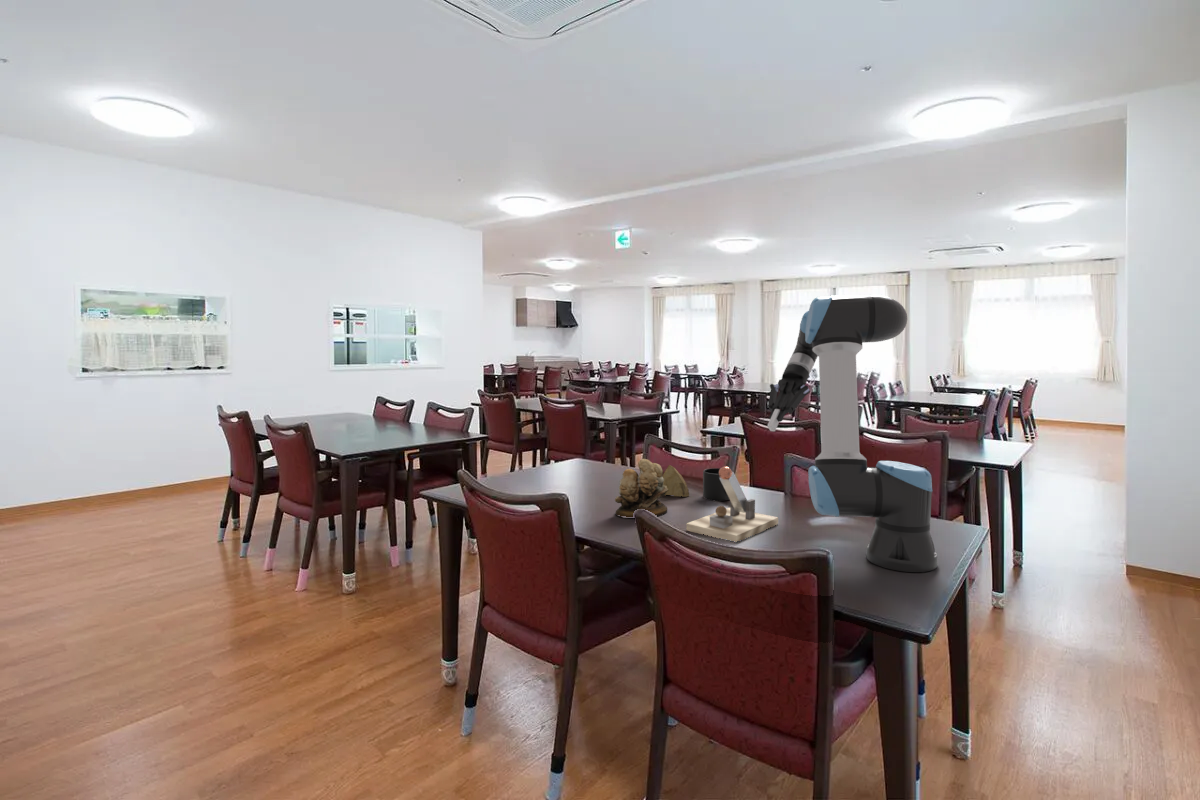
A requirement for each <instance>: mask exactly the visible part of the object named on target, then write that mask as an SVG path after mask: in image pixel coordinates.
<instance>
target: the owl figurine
mask: <svg viewBox="0 0 1200 800" xmlns="http://www.w3.org/2000/svg"><path fill="white" fill-rule="evenodd" d="M637 466H638V469H639V473H638V472H637V471H636V470H635V469H632V468H626V469H625V470H624V471H623V473H622V478H621V479H620V480H619V486H618V493H619V495H620V496H619V495H618V496H615V498H614V501H615V502H616V503H618V504H621V506H618V508H617V510H615V515H616V514H617V515H620V516H626V517H633V513H634V511H635V510H637V509H645V510H648V511H650V512H652V513H654V514H655V515H657V517H660V515H661V516H662V514H663V515H665V514H667V512H668V507H667V506H666V505H665V503H663V502H661V501H660V500H659V498H661V497H663V496H664V497H665V496H666V495H665V494H666V492H667V491H668V488H667V486H663V482H664V479H663V477H662V476H663V474H664V471H663V468H662V466H661V464H658V463H656V462H652V461H651V460H650V459H646V458H641V459H640V460H639V461H638V462H637ZM617 515H616V516H617Z"/></svg>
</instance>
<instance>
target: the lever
mask: <svg viewBox="0 0 1200 800" xmlns="http://www.w3.org/2000/svg"><path fill="white" fill-rule="evenodd" d="M719 468H720V470H719V476H720V478H719V479H720V481H721V483H722V485H723V487H724V489H725V491H726V493H727V495H728V497H729V502H730V501H731V503H732V505H733V507H734V509H735V511H737V512H742V513H745V512H746V501H747V500H748V499H747V497H746V495H745V493H744V491H743V489H742V487H741V484H740V482H739V480H738V478H737V477H736V475H735V472H734V471H732V469H731V468H730V467H729V466H727V465H726V466H722V467H719Z"/></svg>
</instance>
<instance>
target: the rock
mask: <svg viewBox="0 0 1200 800" xmlns="http://www.w3.org/2000/svg"><path fill="white" fill-rule="evenodd" d="M662 477H663V479H664V482H663V486H667V488H668V491H667V492H666V494H665V495H664V496H666V495H674V496H673V497H681V496H682V497H686V498H687V497H689V496H690V492H689V491H690V489H689V487H688V486H687V485H688V484H687V482H686V481H685V479H684V477H683V476H682V474H680V472H679V471H678V470H677V469H676V467H674V466H673V465H671V464H669V465H668V466H667V468H666V469H665V471H663V475H662ZM682 497H681V498H682Z"/></svg>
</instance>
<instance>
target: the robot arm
mask: <svg viewBox="0 0 1200 800" xmlns="http://www.w3.org/2000/svg"><path fill="white" fill-rule="evenodd" d="M907 324H908V313H907V311H906V309H905V308H904V306H903V305H902V304H901V303H900V301H897V300H896V299H894V298H891V297H888V296H885V295H877V294H869V295H865V294H864V295H861V294H859V295H828V296H825V295H824V296H817V297H815V298H813V300H812V301H811V302H810V304H809V309H808V310H807V311H805V312H804V313H803V315H802V318H801V320H800V323H799V332H798V337H797V342H796V346H795V347H794V350H793V352H792V355H791V357H790V358H789V360H788V363H787V365H786V367H785V368H784V370H783V372H782V376H781V379H780V380H779V381H778V382H777V383H776V384H773V383H771V384H769V387H770V392H769V397H768V398H769V399H768V402H767V407H768V409H769V411H770V414H769V416H768V417H769V418H768V419H769V421H768V423H767V427H768V429H769V431H770V432H776V431H777V428H778V426H779V423H781V422H783V419H784V418H785V416H786V415H787V414H793V412H794V411H795V410H796V408H798V406H799V405H800V404H801V402H802V401H803V400H804V398H805V397H806V396H808V395H809V394H810V393H811V390H810V388H809V386H808V385H806V383H807V381H808V380H809V379H808V378H809V377H810V374H811V372H812V369H813V367H814V365H815V363H816V360H817V359H818V366H819V367H818V368H819V371H818V373H819V405H820V406H819V409H820V411H819V412H820V443H821V444H820V445H821V446H820V447H821V450H820V451H821V452H820V453H819V454H818V455H817V456H816V457H815V458H814V465H811V466H810V467H808V471H807V474H808V478H807V479H808V487H809V494H810V497H811V502H812V505H813V507H814V510H815V511H816V512H817V514H820V515H822V516H831V517H832V516H833V517H838V518H839V517H851V518H852V517H854V518H855V517H858V518H875V521H874V528H873V531H872V533H871V537H870V540H869V543H868V544H867V546H866V551H865V552H866V554H865V557H866V559H867V561H869V562H871V563H872V564H873V565H876V566H878V567H882V568H884V569H887V570H892V571H896V572H897V571H898V572H905V573H926V572H930V571H931V572H932V571H934V570H936V569H937V567H938V560H939V559H938V554H937V552H936V549H935V545H934V542H933V538H932V534H931V519H932V518H931V515H932V514H931V513H932V496H933V495H932V494H933V483H932V482H933V480H932V474H931V473H930V471H929V470H928V469H926V468H924V467H922V466H918V465H914V464H911V463H906V462H900V461H896V460H895V461H894V460H893V461H892V460H878V461H877V463H876V465H875V467H868V462H867V461H868V460H867V458H866V457H865V456H864V455H863V454H861V453H862V452H860V431H859V429H860V428H859V403H858V402H859V398H858V377H857V376H858V373H857V355H858V354H859V352H861V351H862V350H863V343H879V342H884V341H885V342H886V341H888V340H892V339H894V338H897V336H899V335H900V334H902V332H903V331H904V330H905V328H906V326H907ZM778 392H779V393H778Z"/></svg>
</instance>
